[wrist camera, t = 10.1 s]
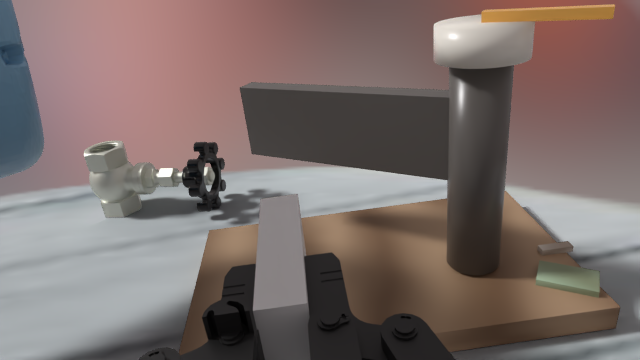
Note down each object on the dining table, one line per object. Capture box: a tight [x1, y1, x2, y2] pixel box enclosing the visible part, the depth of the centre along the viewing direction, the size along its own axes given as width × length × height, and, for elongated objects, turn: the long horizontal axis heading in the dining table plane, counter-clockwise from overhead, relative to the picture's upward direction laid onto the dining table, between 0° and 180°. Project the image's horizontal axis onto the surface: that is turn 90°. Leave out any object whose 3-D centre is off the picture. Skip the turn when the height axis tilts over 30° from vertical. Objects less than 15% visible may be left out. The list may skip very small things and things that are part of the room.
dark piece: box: [240, 5, 615, 275], centre depth 29 cm, size 22×5×15 cm, turn 60°
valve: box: [84, 141, 226, 218], centre depth 44 cm, size 7×7×12 cm
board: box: [179, 191, 620, 355], centre depth 31 cm, size 24×14×2 cm, turn 94°
